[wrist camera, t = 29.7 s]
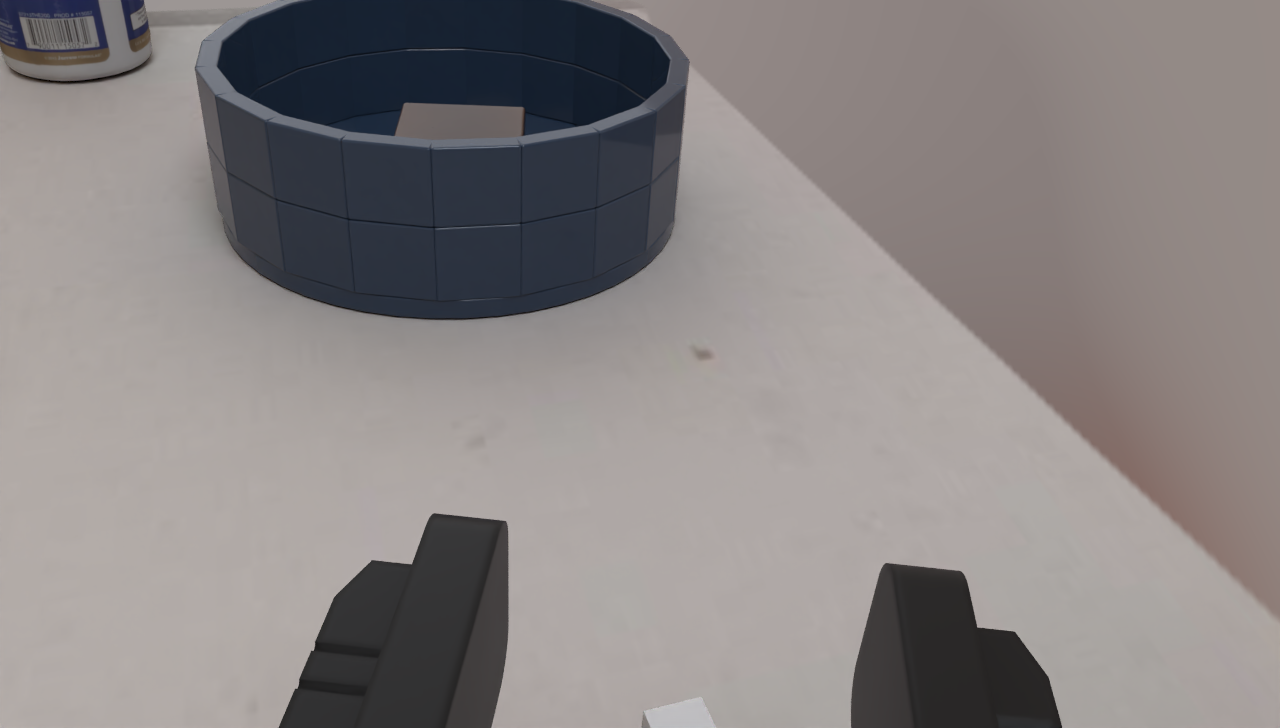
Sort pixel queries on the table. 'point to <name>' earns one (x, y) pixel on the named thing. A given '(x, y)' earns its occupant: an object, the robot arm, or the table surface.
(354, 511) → the table surface
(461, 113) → the block
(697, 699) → the chess piece
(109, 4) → the pill bottle
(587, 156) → the bowl
